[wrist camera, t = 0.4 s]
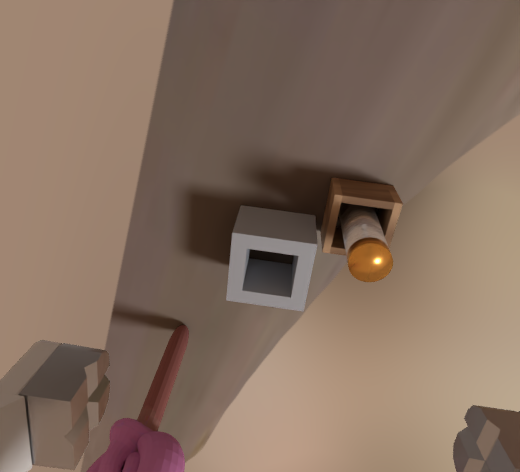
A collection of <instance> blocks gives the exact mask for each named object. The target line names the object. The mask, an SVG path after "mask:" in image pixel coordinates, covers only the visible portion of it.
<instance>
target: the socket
mask: <svg viewBox="0 0 520 472" xmlns="http://www.w3.org/2000/svg"><path fill="white" fill-rule="evenodd" d="M316 248H317V232H316V218H315V215H309V214H302V213H294V212H287V211H280V210H273V209H265V208H258V207H251V206H244V205H241V206H240V209H239V213H238V216H237V219H236V222H235V226H234V229H233V232H232V242H231V253H230V264H229V276H228V287H227V298H226V300H228V301H235V302H242V303H249V304H255V305H262V306H269V307H276V308H283V309H290V310H297V311H304V307H305V302H306V297H307V292H308V287H309V282H310V278H311V273H312V268H313V263H314V258H315V253H316ZM250 249H253V250H260V251H267V252H274V253H282V254H289V255H294V257H293V263H292V264H286V263H279V262H272V261H265V260H258V259H251V258H249V254H250Z"/></svg>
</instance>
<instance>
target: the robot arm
mask: <svg viewBox="0 0 520 472" xmlns="http://www.w3.org/2000/svg"><path fill="white" fill-rule="evenodd" d="M109 366H110V356H109V353H108V352H107V351H106V350H100V349H94V348H89V347H83V346H77V345H71V344H65V343H63V344H62V343H57V342H51V341H45V340H40V341H38V342H36V343H35V344H34V345H33V346H32V347H31V348H30V349H29V350H28V351H27V352H26V353H25V354H24V355H23V356H22V357H21V358H20V360H19V361H18V362H17V363H16V364H15V365H14V366H13V367H12V368H11V369H10V370H9V372H8V373H7V374H6V375H5V376H4V377H3V378H2V379H1V380H0V472H27V471H29V470H30V469H31V468H32V465H37V466H45V467H53V468H62V469H70V470H75V468H76V466H77V465H78V463H79V461H80V459H81V457H82V455H83V453H84V452H85V450H86V448H87V446H88V444H89V431H90V430H91V429H93V428H95V427H96V426H98V425H99V423H100V421H101V419H102V417H103V415H104V413H105V410H106V407H107V404H108V401H109V394H110V380H109V379H108V378H107V376H106V375H105V373H106V371H107V370H108V368H109ZM464 419H465V421H466V423H467V426H468V427H466V428H465V429H463V430H462V431H460V432H459V433H458V434H457V437H456V439H455V442H454V448H453V459H454V463H455V468H456V471H457V472H520V411H519V412H516V411H511V410H504V409H497V408H490V407H483V406H475V405H473V406H472V407H471V408H470V409H468V411H467V413H466V415H465V418H464Z"/></svg>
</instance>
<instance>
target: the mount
mask: <svg viewBox="0 0 520 472" xmlns="http://www.w3.org/2000/svg"><path fill="white" fill-rule="evenodd" d="M341 203H347V204H355V205H362V206H369V207H377V208H380V209H379V213H378V216H377V217H378V220H379V223H380V226H381V228H382V231H383V234H384V237H385V239H386V242H387V245H388V247H390V244H391V241H392V237H393V234H394V231H395V228H396V224H397V221H398V218H399V215H400V211H401V208H402V205H403V203H402V201H401V199H400V197H399V196H398V194H397V192H396V190H395V188H394V186H392V185H385V184H377V183H370V182H362V181H355V180H348V179H340V178H333V177H332V179H331V184H330V188H329V193H328V198H327V203H326V208H325V213H324V217H323V222H322V227H321V241H322V252H325V253H332V254H339V255H346V250H345V245H344V239H343V234H342V228H337V227H336V223H337V218H338V214H339V210H340V205H341Z"/></svg>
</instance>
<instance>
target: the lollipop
mask: <svg viewBox="0 0 520 472" xmlns="http://www.w3.org/2000/svg"><path fill="white" fill-rule="evenodd" d="M188 338H189V331H188V328H187V327H186V326H185V325H180V326H179V327H177V328H176V330H175V331H174V332H173V334H172V336H171V338H170V340H169V342H168V345H167V347H166V350H165V352H164V355H163V357H162V360H161V362H160V365H159V367H158V369H157V372H156V374H155V377H154V379H153V382H152V385H151V387H150V390H149V392H148V395H147V397H146V399H145V402H144V404H143V407H142V409H141V412H140V414H139V417H138V419H137V420H134V419H130V418H123V419H120V420H118V421H116V422H115V423H114V425H113V426H112V427H111V430H110V445H109V447H108V449H107V451H106V452H105V453H104V454H103V455H102V456H101V457H99V458H98V459H97V460H96V461H95V462H94V463H93V464H92V466H91V467H90V468H89V469H88V470H87V472H184V466H185V461H184V454H183V451H182V448H181V446H180V444H179V442H178V441H177V440H176V439H175V438H174V437H173V436H171V435H169V434H167V433H164V432H158V428H159V425H160V423H161V420H162V417H163V414H164V411H165V408H166V405H167V402H168V399H169V396H170V393H171V390H172V388H173V385H174V382H175V379H176V376H177V373H178V370H179V367H180V364H181V361H182V358H183V355H184V353H185V350H186V347H187V343H188Z"/></svg>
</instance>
